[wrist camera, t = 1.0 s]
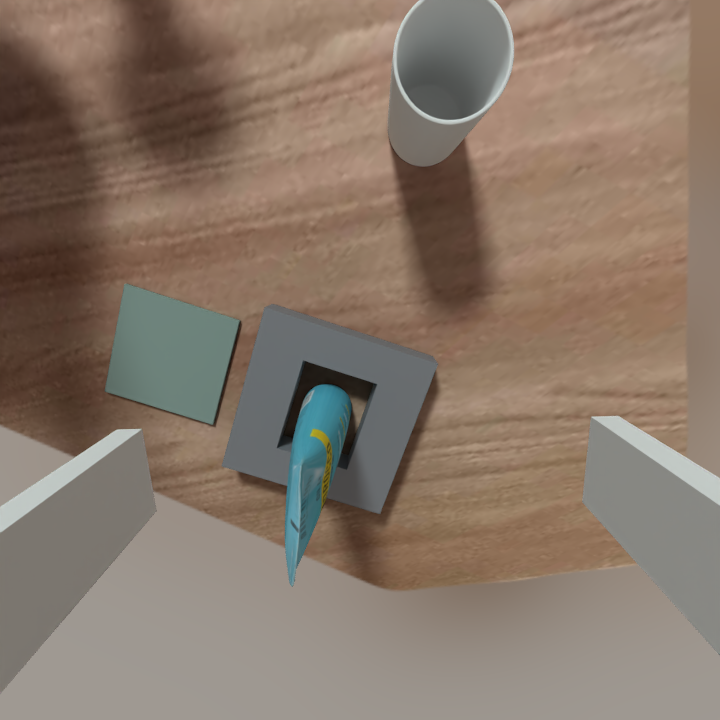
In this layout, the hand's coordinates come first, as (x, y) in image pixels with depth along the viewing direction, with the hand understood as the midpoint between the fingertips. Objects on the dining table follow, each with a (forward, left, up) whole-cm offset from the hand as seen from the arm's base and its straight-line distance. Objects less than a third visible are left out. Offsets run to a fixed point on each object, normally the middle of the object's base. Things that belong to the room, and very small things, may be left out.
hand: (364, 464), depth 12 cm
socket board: (-1, -9, -27) cm, 28 cm away
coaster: (-17, -9, -27) cm, 33 cm away
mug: (-1, +19, -27) cm, 33 cm away
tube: (-1, -9, -27) cm, 29 cm away
